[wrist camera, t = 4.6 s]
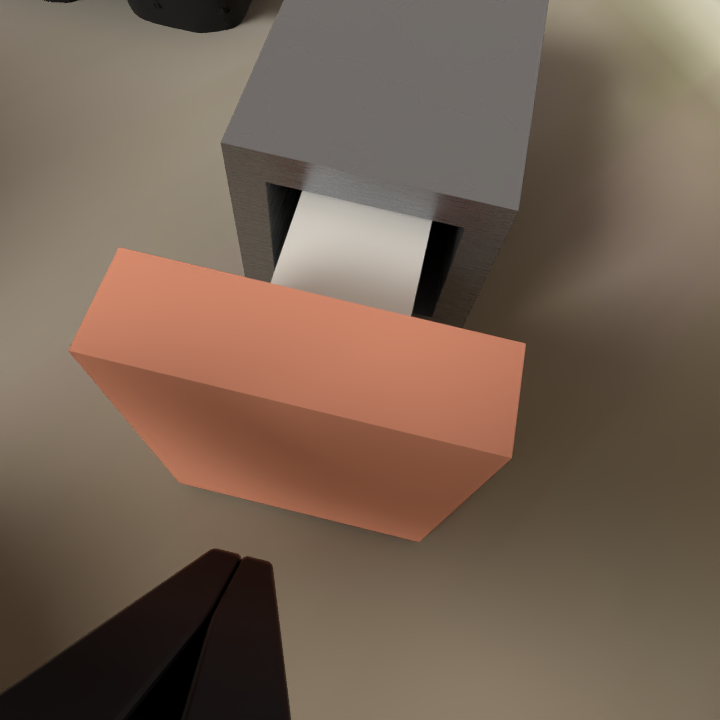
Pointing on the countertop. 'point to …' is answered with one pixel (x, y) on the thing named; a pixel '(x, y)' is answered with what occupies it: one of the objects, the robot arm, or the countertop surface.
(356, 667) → the countertop surface
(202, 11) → the egg carton
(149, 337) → the pink block
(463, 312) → the housing
